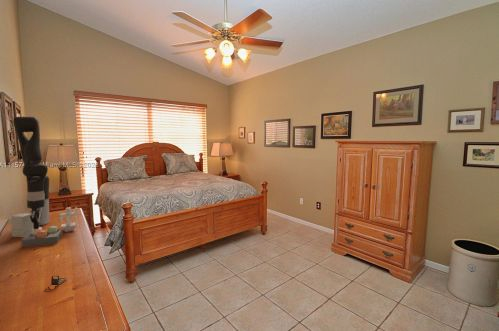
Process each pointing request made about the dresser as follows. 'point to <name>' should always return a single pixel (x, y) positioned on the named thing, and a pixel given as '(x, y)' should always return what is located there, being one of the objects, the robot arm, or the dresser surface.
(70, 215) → the figurine
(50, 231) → the green egg
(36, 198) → the robot arm
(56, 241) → the grey square tray
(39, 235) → the brown egg
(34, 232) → the white egg
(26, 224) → the supplement box
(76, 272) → the dresser surface
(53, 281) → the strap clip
